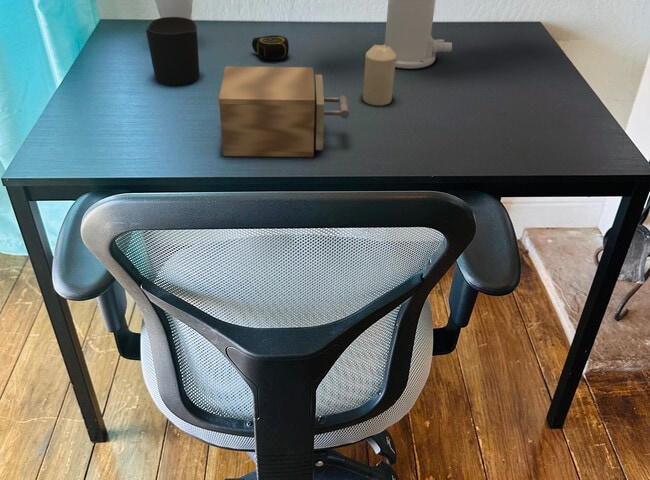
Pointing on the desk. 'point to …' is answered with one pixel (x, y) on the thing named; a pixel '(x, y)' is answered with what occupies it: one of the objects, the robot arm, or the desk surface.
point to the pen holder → (174, 50)
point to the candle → (379, 75)
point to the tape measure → (271, 46)
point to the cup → (175, 8)
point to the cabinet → (267, 111)
